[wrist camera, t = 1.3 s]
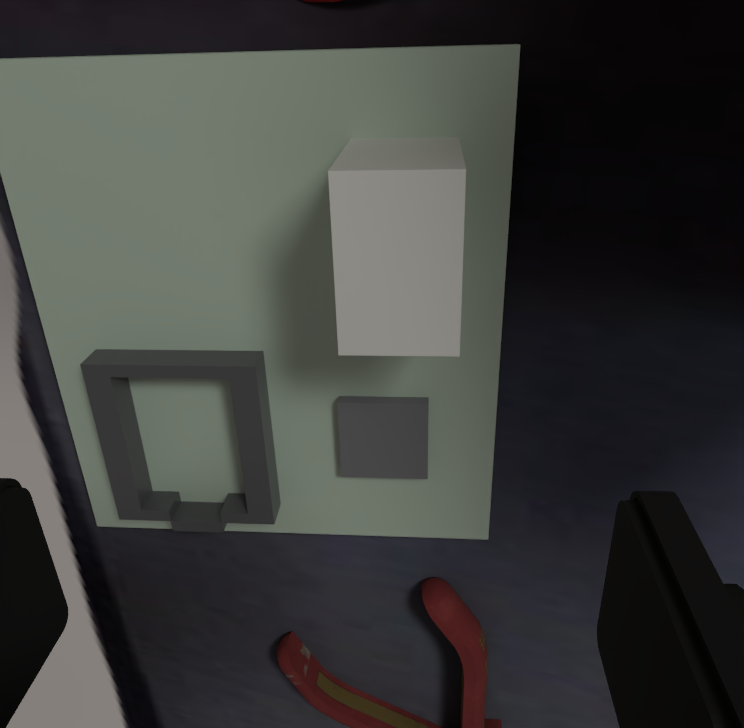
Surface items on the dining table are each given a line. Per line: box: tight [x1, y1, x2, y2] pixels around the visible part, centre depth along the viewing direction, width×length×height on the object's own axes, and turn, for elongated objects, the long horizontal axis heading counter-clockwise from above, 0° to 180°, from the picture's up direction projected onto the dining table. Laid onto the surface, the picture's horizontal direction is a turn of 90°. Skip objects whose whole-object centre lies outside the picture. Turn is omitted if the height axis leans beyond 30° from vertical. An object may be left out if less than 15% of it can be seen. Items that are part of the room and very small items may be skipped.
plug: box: [328, 137, 466, 357], centre depth 24 cm, size 4×7×6 cm, turn 2°
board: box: [0, 44, 520, 540], centre depth 29 cm, size 20×22×2 cm
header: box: [80, 349, 281, 533], centre depth 31 cm, size 8×9×2 cm
